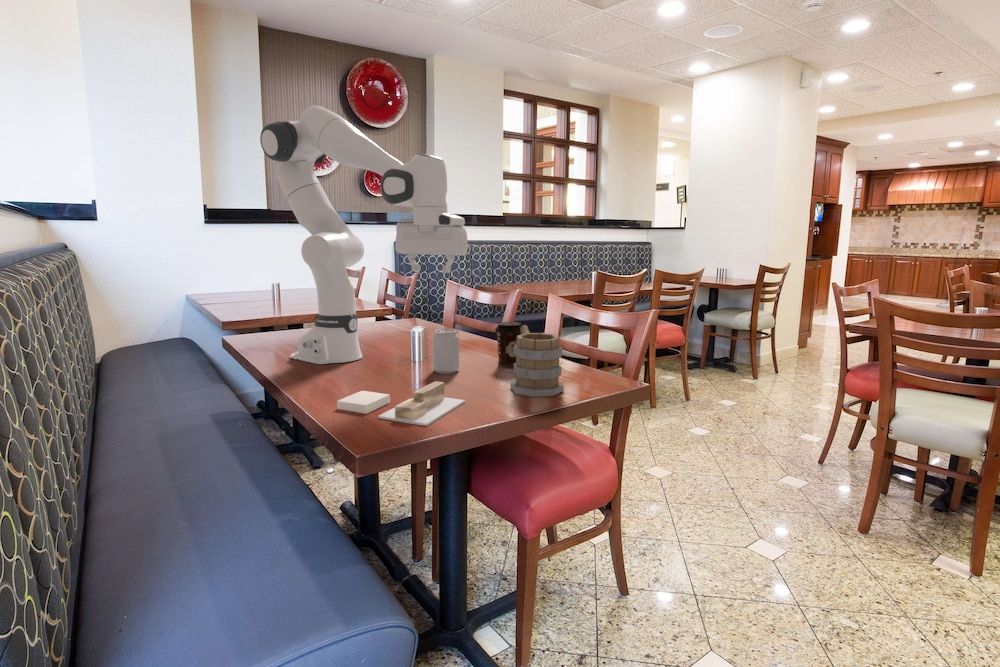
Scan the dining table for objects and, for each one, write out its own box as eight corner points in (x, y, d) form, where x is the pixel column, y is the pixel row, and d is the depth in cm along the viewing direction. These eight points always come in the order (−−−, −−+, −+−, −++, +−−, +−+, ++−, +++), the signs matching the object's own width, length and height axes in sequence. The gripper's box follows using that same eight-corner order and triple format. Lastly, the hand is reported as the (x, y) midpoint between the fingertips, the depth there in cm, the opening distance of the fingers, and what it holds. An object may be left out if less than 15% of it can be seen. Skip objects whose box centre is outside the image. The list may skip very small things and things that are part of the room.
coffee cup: (528, 364, 168) (529, 322, 165) (515, 370, 161) (515, 326, 158) (503, 361, 172) (504, 320, 170) (489, 366, 165) (489, 323, 163)
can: (457, 374, 155) (457, 332, 153) (431, 374, 155) (430, 332, 153) (460, 368, 163) (460, 328, 160) (434, 367, 163) (434, 327, 160)
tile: (362, 399, 133) (337, 410, 125) (361, 390, 132) (337, 400, 124) (390, 404, 130) (366, 415, 122) (389, 394, 129) (366, 405, 121)
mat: (377, 418, 119) (377, 416, 118) (421, 395, 135) (421, 393, 135) (426, 426, 114) (426, 423, 114) (465, 402, 130) (465, 400, 130)
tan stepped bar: (395, 417, 118) (394, 399, 117) (431, 396, 133) (431, 380, 132) (412, 419, 116) (412, 401, 116) (448, 399, 131) (448, 382, 130)
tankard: (568, 396, 136) (570, 336, 134) (518, 398, 134) (519, 337, 131) (545, 375, 156) (547, 323, 153) (501, 377, 153) (502, 324, 150)
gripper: (389, 218, 145) (391, 271, 147) (459, 218, 137) (459, 274, 140) (403, 218, 151) (404, 269, 153) (470, 219, 143) (470, 272, 145)
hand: (431, 271), depth 146 cm, fingers open, 8 cm apart
